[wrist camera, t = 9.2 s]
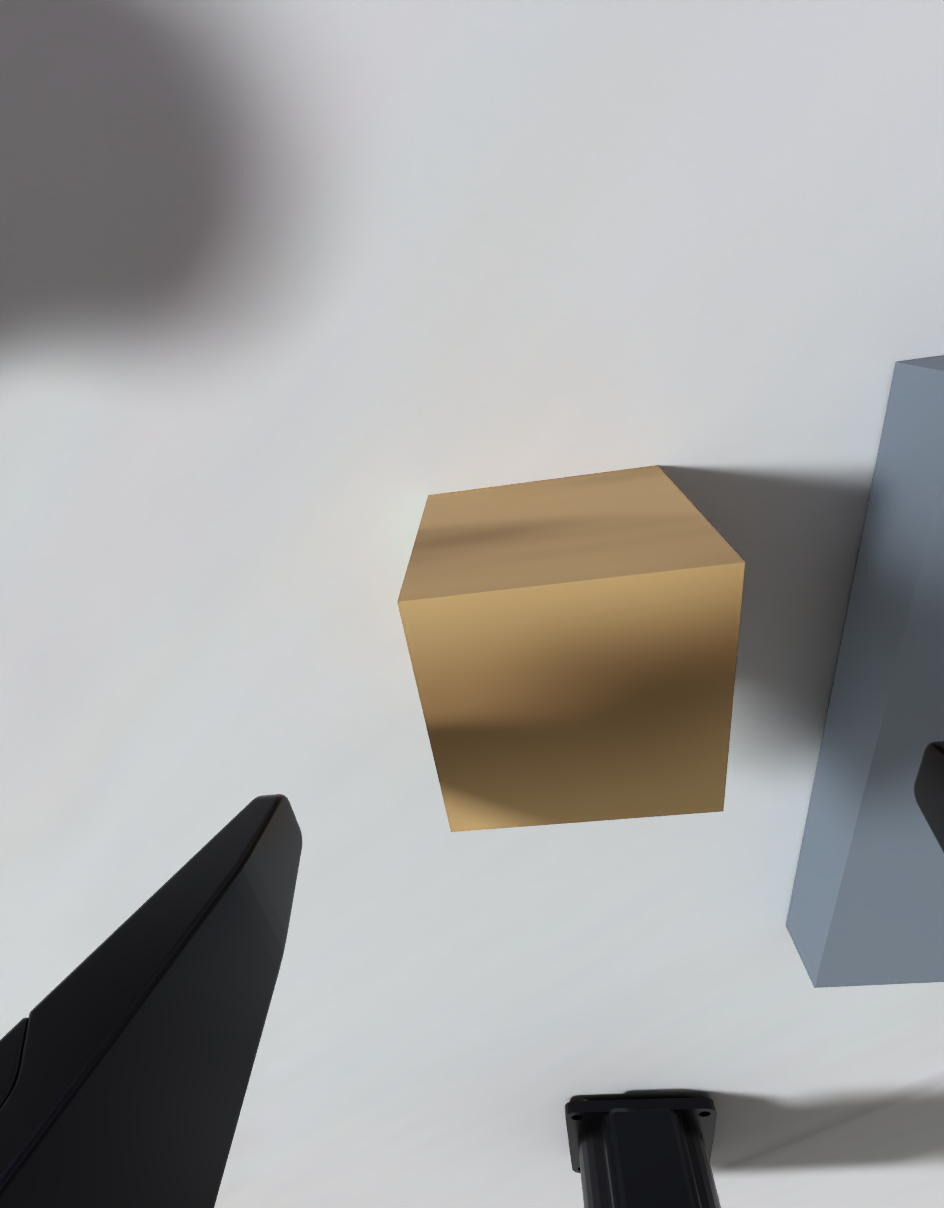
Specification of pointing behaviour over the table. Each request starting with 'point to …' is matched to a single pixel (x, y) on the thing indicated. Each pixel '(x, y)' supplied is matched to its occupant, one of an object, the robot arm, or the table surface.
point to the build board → (883, 724)
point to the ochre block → (574, 649)
